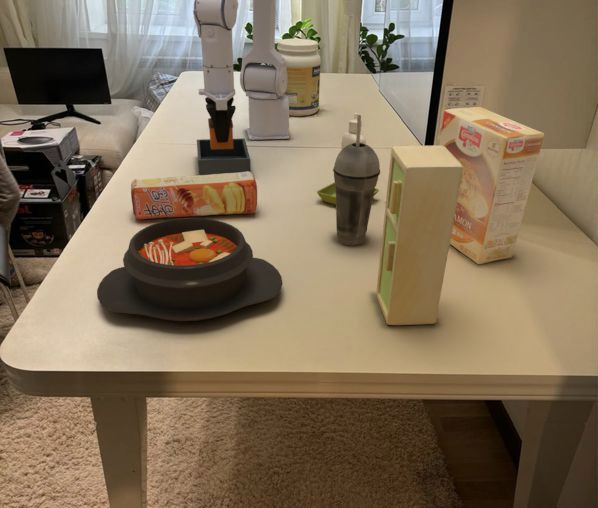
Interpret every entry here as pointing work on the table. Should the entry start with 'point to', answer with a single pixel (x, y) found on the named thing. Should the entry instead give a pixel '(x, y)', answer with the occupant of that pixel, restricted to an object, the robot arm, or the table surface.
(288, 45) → the supplement tub
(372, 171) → the beverage cup
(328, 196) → the saucer
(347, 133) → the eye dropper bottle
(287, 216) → the table surface
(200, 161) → the bin
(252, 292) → the casserole
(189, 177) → the snack package
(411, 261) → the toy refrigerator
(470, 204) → the coffeecake box
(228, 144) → the orange rectangular block
